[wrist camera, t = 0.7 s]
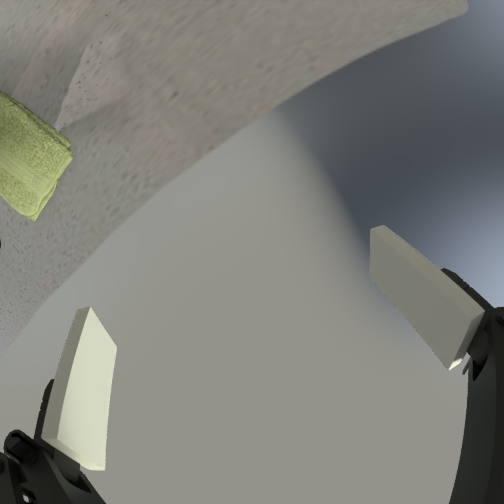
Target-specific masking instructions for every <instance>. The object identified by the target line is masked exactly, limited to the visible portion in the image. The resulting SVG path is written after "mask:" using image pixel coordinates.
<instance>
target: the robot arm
mask: <svg viewBox="0 0 504 504" xmlns="http://www.w3.org/2000/svg"><path fill="white" fill-rule="evenodd" d="M369 277H370V278H371V280H372V281H373V282H374V283H375V284H376V285H377V286H378V287H379V289H380V290H381V291H382V292H383V293H384V294H385V295H386V296H387V297H388V298H389V299H390V301H391V302H392V303H393V304H394V305H395V307H396V308H397V309H398V310H399V311H400V312H401V313H402V315H403V316H404V317H405V318H406V319H407V320H408V322H409V323H410V324H411V325H412V326H413V328H414V329H415V330H416V331H417V332H418V334H419V335H420V336H421V337H422V338H423V340H424V341H425V342H426V343H427V344H428V346H429V347H430V348H431V349H432V351H433V352H434V353H435V354H436V356H437V357H438V358H439V359H440V361H441V362H442V363H443V365H444V366H445V367H446V368H447V370H450V369H452V368H453V367H455V366H456V365H458V364H459V363H461V362H462V360H463V358H464V356H465V354H466V352H467V353H468V354H469V355H470V356H471V357H470V359H469V360H468V362H467V364H466V366H465V368H464V369H463V373H462V374H465V373H466V371H467V369H468V368H469V372H468V397H467V409H466V420H465V428H464V436H463V443H462V449H461V455H460V460H459V465H458V470H457V475H456V479H455V483H454V487H453V491H452V495H451V498H450V502H449V504H504V307H497V308H494V307H492V306H491V305H490V304H489V303H488V302H487V301H486V300H485V299H484V298H483V297H482V296H481V295H479V294H478V293H477V292H476V291H475V290H474V289H473V288H472V287H471V288H470V286H469V285H468V284H467V283H466V282H464V281H463V279H461V278H460V277H459V276H458V275H457V274H456V273H454V272H452V271H450V270H447V269H445V268H443V269H441V270H439V268H437V267H436V266H435V265H434V264H433V263H431V262H430V261H429V260H428V259H427V258H425V257H424V256H423V255H422V254H420V253H419V252H418V251H417V250H416V249H414V248H413V247H412V246H410V245H409V244H408V243H407V242H405V241H404V240H403V239H402V238H400V237H399V236H397V235H396V234H395V233H394V232H392V231H391V230H390V229H388V228H387V227H386V226H384V225H382V226H379V227H376V228H372V229H371V238H370V268H369ZM116 350H117V347H116V345H115V344H114V342H113V341H112V339H111V338H110V336H109V335H108V333H107V332H106V330H105V329H104V327H103V326H102V324H101V323H100V321H99V320H98V318H97V316H96V315H95V313H94V312H93V310H92V308H91V307H87V308H82V309H79V310H77V312H76V315H75V318H74V320H73V323H72V326H71V329H70V331H69V334H68V338H67V340H66V343H65V346H64V349H63V352H62V356H61V359H60V362H59V366H58V369H57V373H56V376H55V379H52V380H50V382H49V384H48V385H47V387H46V389H45V392H44V395H43V399H42V400H43V402H42V403H41V407H40V409H41V410H40V412H39V416H38V420H37V425H36V429H35V435H34V439H31V438H30V437H29V436H28V435H26V434H25V433H24V432H22V431H20V430H13V431H12V432H10V433H9V434H8V436H7V437H6V439H5V442H4V453H1V452H0V504H106V503H105V502H104V500H103V499H102V498H101V497H100V495H99V494H98V493H97V491H96V490H95V489H94V487H93V486H92V484H91V483H90V482H89V480H88V479H87V477H86V476H85V475H84V474H83V473H82V472H81V471H80V465H82V466H84V467H85V468H87V469H89V470H105V457H106V437H107V423H108V413H109V412H108V411H109V402H110V393H111V385H112V377H113V370H114V363H115V358H116ZM5 454H6V455H7V456H6V455H5ZM8 456H9V457H10V458H9V457H8ZM23 495H25V496H27V497H28V499H29V503H28V502H26V501H24V498H23Z"/></svg>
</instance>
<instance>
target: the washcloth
mask: <svg viewBox="0 0 504 504" xmlns="http://www.w3.org/2000/svg"><path fill="white" fill-rule="evenodd" d="M71 145H72V144H71V143H70V142H69V139H66V138H65V137H64V136H62V135H61V134H60V133H58V132H56V131H55V130H54V128H52V127H51V126H49V125H47V124H46V123H44V122H43V121H42V120H41V119H40V118H39V117H37V116H36V115H35V114H33V113H31V112H30V111H29V110H28V109H25V108H24V106H23V105H22V104H18V103H17V102H16V101H15V100H14V99H12V98H10V97H9V96H8V95H6V94H4V93H1V92H0V195H1V196H2V198H4V199H5V200H6V201H7V202H8V203H9V204H10V205H11V206H12V207H13V208H14V209H15V210H16V211H18V212H19V213H21V215H24V216H25V217H26V218H27V219H30V220H32V221H36V218H37V216H38V215H39V213H40V211H41V210H42V208H43V207H44V206H45V204H46V203H47V201H48V200H49V199H50V197H51V195H52V194H53V191H54V189H55V187H56V183H57V181H58V180H59V178H60V177H61V175H62V173H63V172H64V170H65V169H66V167H67V166H68V164H69V163H70V162H71V161H72V160H73V156H72V155H71V153H72V152H71V151H70V150H69V147H70V146H71Z"/></svg>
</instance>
